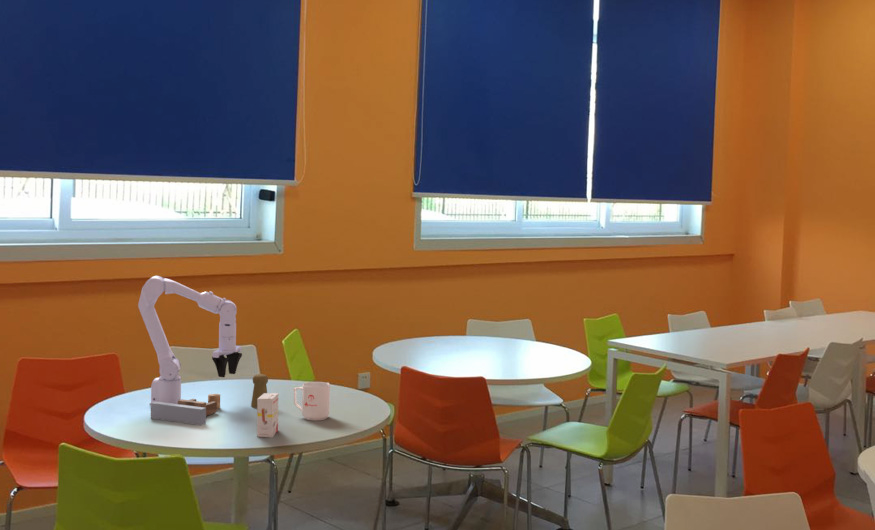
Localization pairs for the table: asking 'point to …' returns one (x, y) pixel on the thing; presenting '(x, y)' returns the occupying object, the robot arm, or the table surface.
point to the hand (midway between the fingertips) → (227, 375)
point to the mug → (314, 400)
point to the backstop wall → (178, 413)
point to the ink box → (267, 415)
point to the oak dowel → (214, 399)
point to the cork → (258, 388)
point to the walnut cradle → (200, 405)
